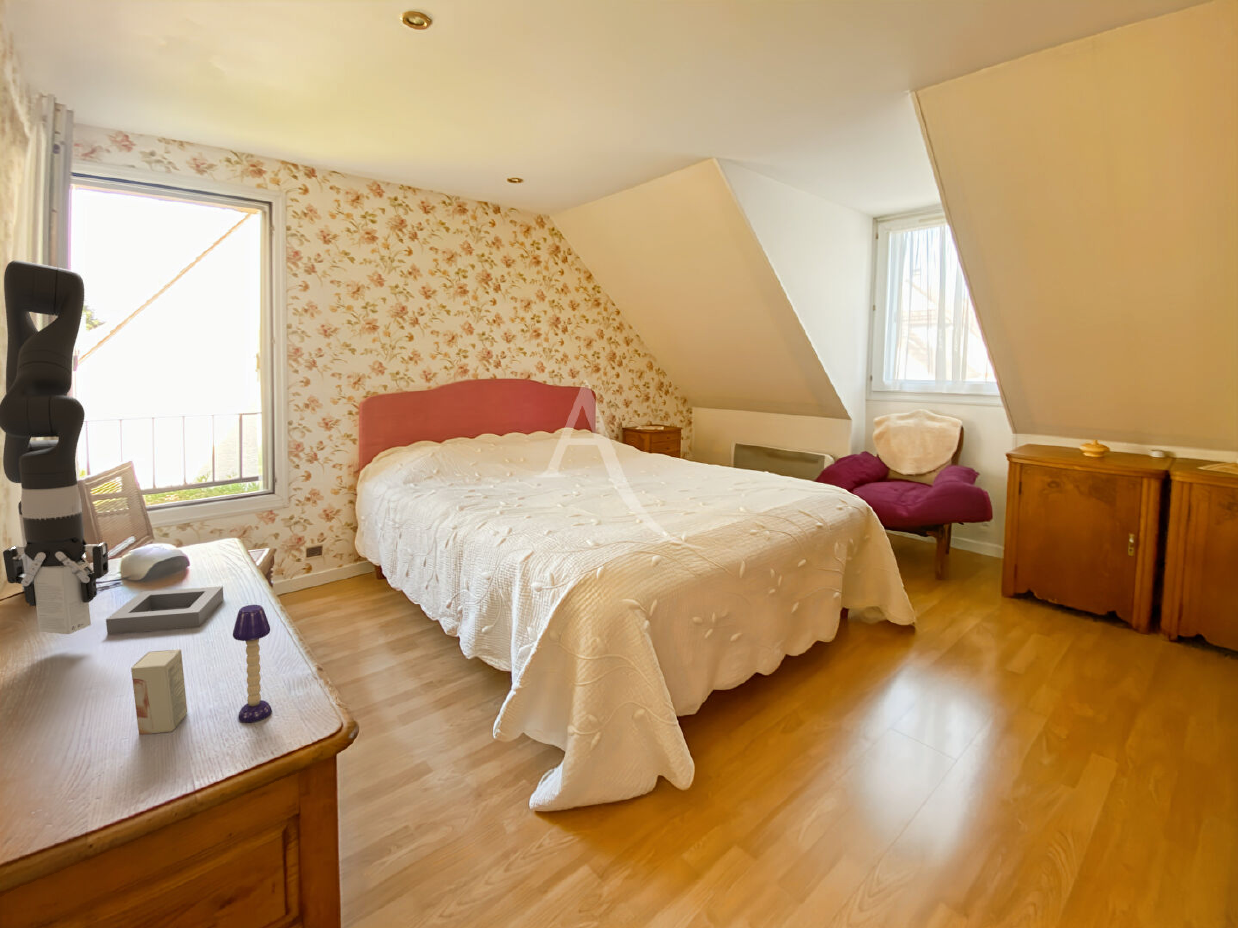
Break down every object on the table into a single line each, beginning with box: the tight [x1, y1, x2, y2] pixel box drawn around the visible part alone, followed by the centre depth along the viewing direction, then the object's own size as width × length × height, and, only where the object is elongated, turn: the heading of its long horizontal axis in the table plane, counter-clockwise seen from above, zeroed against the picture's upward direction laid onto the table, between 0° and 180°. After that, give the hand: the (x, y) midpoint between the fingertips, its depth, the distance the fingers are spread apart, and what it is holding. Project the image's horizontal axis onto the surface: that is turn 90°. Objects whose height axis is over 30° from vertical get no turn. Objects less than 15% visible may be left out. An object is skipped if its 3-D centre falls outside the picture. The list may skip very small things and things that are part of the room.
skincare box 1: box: [33, 562, 92, 635], centre depth 107 cm, size 6×4×12 cm
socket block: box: [105, 585, 225, 635], centre depth 124 cm, size 15×15×3 cm
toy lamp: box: [232, 604, 273, 723], centre depth 88 cm, size 5×5×17 cm
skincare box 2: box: [130, 649, 188, 735], centre depth 86 cm, size 5×4×10 cm
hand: (62, 602), depth 107 cm, fingers closed on skincare box 1, 7 cm apart
